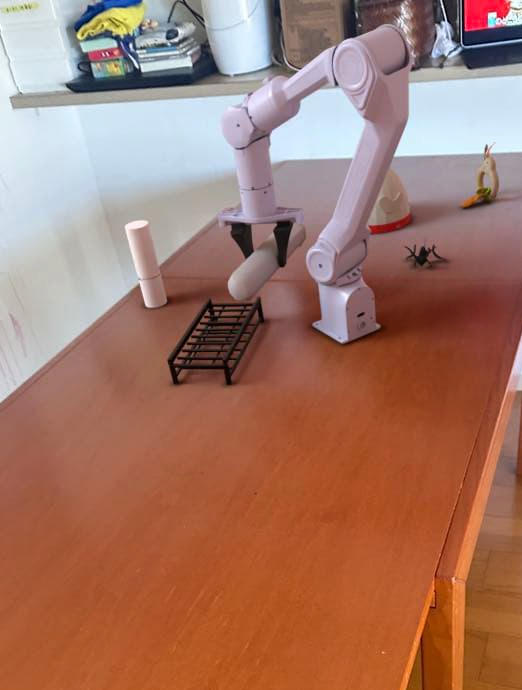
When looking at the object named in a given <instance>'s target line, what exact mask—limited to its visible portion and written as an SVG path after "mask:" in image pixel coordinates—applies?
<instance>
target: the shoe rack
mask: <svg viewBox="0 0 522 690" xmlns="http://www.w3.org/2000/svg"><path fill="white" fill-rule="evenodd" d="M241 307H242V308H241ZM249 307H251V308H249ZM206 313H209V315H206ZM216 313H218V314H217V315H216ZM223 313H239V314H223ZM244 313H247V314H244ZM256 313H257V317H258V318H257V320H256V321H255V323H253V322H252V320H253V318H254V316H255V314H256ZM264 316H265V315H264V311H263V303H262V298H261V296H256V299H255V301H254V302H213V301H212V298H211V297H208V298H207V299H206V300H205V302H204V303H203V305H202V307H200V310H199V311H198V312H197V314H196V315H195V317H194V318H193V320H192V322H191V323H190V325H189V326H188V327H187V329H186V330H185V332H184V333H183V335H182V336H181V338H180V340H179V341H178V343H177V344H176V346H175V347H174V348H173V350H172V352H171V353H170V355H169V356H168V358H167V359H166V362H167V365H168V368H169V372H170V375H171V380H172V384H173V385H178V384H179V383H180V381H179V378H178V377H179V376H180V374H181V372H182V371H183V370H186V371H187V370H197V371H199V370H200V371H201V370H202V371H203V370H207V371H209V370H213V371H216V370H217V371H218V370H219V371H221V370H223V373H224V374H223V375H224V379H225V384H226V385H228V386H230V385H232V384H233V380H232V377H233V375H234V373H235V372H236V369H237V367H238V366H239V364H240V361H241V360H242V358H243V356H244V354H245V353H246V350H247V348H248V346H249V345H250V343H251V341H252V339H253V337H254V335H255V333H256V332H257V329H258V328H259V327H260V324H263V323H265V317H264ZM203 319H205V320H206V319H208V320H207V321H202V320H203ZM219 319H236V320H235V321H218V320H219ZM241 319H244V320H242V321H240V320H241ZM251 322H252V323H251ZM198 326H203V327H202V328H198ZM215 327H216V328H215ZM217 327H218V328H217ZM220 327H221V328H220ZM248 327H252V329H251V331H247V329H248ZM194 332H197V333H199V332H200V333H199V334H193V333H194ZM244 335H248V336H247V338H246V339H242V338H243V336H244ZM190 339H195V341H189V340H190ZM239 343H240V344H241V343H242V344H243V346H242V348H237V347H238V346H239ZM185 346H191V348H188V349H187V348H186V349H185ZM203 346H220V347H219V348H202V347H203ZM225 346H229V347H228V348H224V347H225ZM235 352H239V354H238V355H237V357H232V356H233V355H234V353H235ZM180 353H186V355H185V356H179V355H180ZM198 353H216V354H215V355H214V356H197V354H198ZM221 353H224V355H223V356H220V354H221ZM176 360H177V361H181V362H180V363H175V361H176ZM193 361H211V363H192V362H193ZM216 361H222V363H216ZM229 361H234V362H233V364H232V366H230V365H229Z"/></svg>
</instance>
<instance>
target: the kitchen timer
mask: <svg viewBox="0 0 522 690" xmlns="http://www.w3.org/2000/svg"><path fill="white" fill-rule="evenodd" d="M408 197H409V196H408V194H407V192H406V189H405V185H404V183H403V181H402V180H401V178H400V177H399V175H398V174H397V172H395V171H394V170H393V168H391V166H390V167H389V169H388V172H387V175H386V177H385V180H384V182H383V185H382V187H381V190H380V192H379V195H378V197H377V200H376V202H375V205H374V207H373V210H372V212H371V215H370V217H369V220H368V222H367V225H368V227H369V228H370V230H371V233H370V234H381V233H382V234H384V233H389V232H392V231H396V230H399V229H402V228H404V227H405V226H406V225H408V224H409V223H410V222H411V206H410V200H409V198H408Z"/></svg>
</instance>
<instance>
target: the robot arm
mask: <svg viewBox="0 0 522 690" xmlns="http://www.w3.org/2000/svg"><path fill="white" fill-rule="evenodd" d="M414 60H415V59H414V56H413V53H412V50H411V47H410V45H409V41H408V39H407V37H406V34H405V33H404V32H403V30H401V28H399V27H398V26H396V25H394V24H390V23H385V24H382V25H379V26H378V27H377V28H375V29H373V30H371V31H369V32H366V33H363V34H361V35H359V36H355V37H350V38H347V39H345V40H343V41H341V42H340V43H338V44H336V45H334V46H331V47H329V48H326V49H324V51H322V52H321V53H320V54H319V55H318V56H316V57H315V58H314V59H312V60H311V61H310V62H309V63H307V64H306V65H305V66H304V67H302V68H301V69H300V70H299V71H297V72H296V73H294V74H293V75H292V76H291V77H287V76H284V75H277V76H275V75H274V74H271V75H269V76H267V77H265V78H264V79H263V80H262V84H263V86H261V87H260V88H259V89H257V90H256V91H255V92H253V91H250V92H248V93H246V94H244V96H243V99H244V100H243V101H242V102H240V103H238V104H235V105H230V106H228V107H226V110H224V112H223V113H222V116H221V118H220V129H221V133H222V135H223V137H224V139H225V141H226V142H227V143H228V144H229V145H230V146H231V148H232V152H233V160H234V165H235V170H236V178H237V185H238V189H239V195H240V196H239V197H240V201H241V208H240V209H234V210H229V211H221V212H220V213H219V214H218V215H217V218H218V223H219V228H227V226H229V227H231V228H230V229H231V230H230V231H229V234H230V237H231V238H232V240H233V241H234V242H235V243H236V245H237V246H238V247H239V250H240V251H241V252H242V254H243V257H244V259H245V260H246V259H247V258H248V257H249V256H250V255H251V254H252V253H253V252H254V251H255V249H254V243H253V231H252V230H253V229H252V226H253V225H271V224H272V225H274V224H276V225H275V227H274V228H273V230H272V233H274V236H275V240H276V244H277V249H278V257H279V265H280V268H281V269H282V268H283V269H284V268H285V267H286V265H287V260H288V259H287V248H288V242H289V238H290V234H291V230H292V227H293V224H294V223H296V224H303V223H304V222H305V219H306V218H305V211H304V208H303V207H289V206H278V205H277V199H276V191H275V184H274V175H273V169H272V161H271V155H270V154H271V153H270V149H271V145H272V143H271V135H272V132H273V131H274V130H276V129H278V128H279V127H281V126H282V125H283V124H285V123H286V122H289V121H290V120H291V119H293V118H294V117H296V116H297V115H298V114H299V112H300V109H301V104H302V103H301V102H302V101H303V100H305V99H306V98H307V97H309V96H311V95H312V94H314V93H316V92H317V91H319V90H320V89H322V88H324V87H326V86H327V85H329V84H330V86H331V87H333V88H337V87H339V88H340V90H341V91H342V92H343V93H344V95H345V96H346V97H347V99H348V100H349V102H350V103H351V105H352V106H353V107H354V109H355V111H356V112H357V113H358V114H359V116H360V117H361V118H362V119H364V126H363V129H362V132H361V135H360V138H359V140H358V143H357V146H356V149H355V152H354V154H353V158H352V160H351V162H350V166H349V168H348V172H347V175H346V178H345V180H344V183H343V186H342V188H341V192H340V195H339V197H338V200H337V203H336V205H335V209H334V211H333V214H332V218H331V219H330V221H329V222H328V223H327V225H326V226H325V227H324V228H323V229H322V231H321V232H320V234H319V235H318V238H317V240H316V242H315V244H314V245H312V246H311V247H310V248H309V249H308V251H307V252H306V255H305V256H306V257H305V263H306V268H307V271H308V272H309V274H310V276H311V277H312V279H314V280H315V283H316V284H318V285H317V286H318V295H319V305H320V306H319V307H320V314H321V315H320V316H321V319H319V320H317V321H314V322H313V323H312V327H313V328H315V329H317V330H318V331H320V332H322V333H323V334H325V335H327V336H329V337H330V338H332V339H334V340H335V341H337V342H338V343H340V344H347V343H349V342H351V341H354V340H356V339H358V338H361V337H363V336H366V335H368V334H370V333H373V332H375V331H378V330H380V329H381V324H379V323H377V320H376V319H377V317H376V315H377V314H376V300H375V299H376V298H375V293H374V291H373V290H372V288H371V287H369V286H368V285H367V284H366V282H365V281H364V279H363V275H362V270H363V269H364V267H363V262H365V260H366V259H367V257H368V255H369V250H370V249H369V248H370V247H369V246H370V245H369V240H370V236H371V234H372V233H371V230H370V228H369V227H368V225H367V222H368V220H369V217H370V215H371V212H372V210H373V207H374V205H375V202H376V200H377V197H378V195H379V192H380V190H381V187H382V185H383V182H384V180H385V177H386V175H387V172H388V169H389V167H390V168H391V164H392V162H393V159H394V157H395V154H396V151H397V149H398V146H399V144H400V142H401V140H402V137H403V134H404V131H405V129H406V127H407V124H408V120H409V116H410V83H409V82H410V72H411V70H412V66H413V64H414ZM280 268H279V269H280Z"/></svg>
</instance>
